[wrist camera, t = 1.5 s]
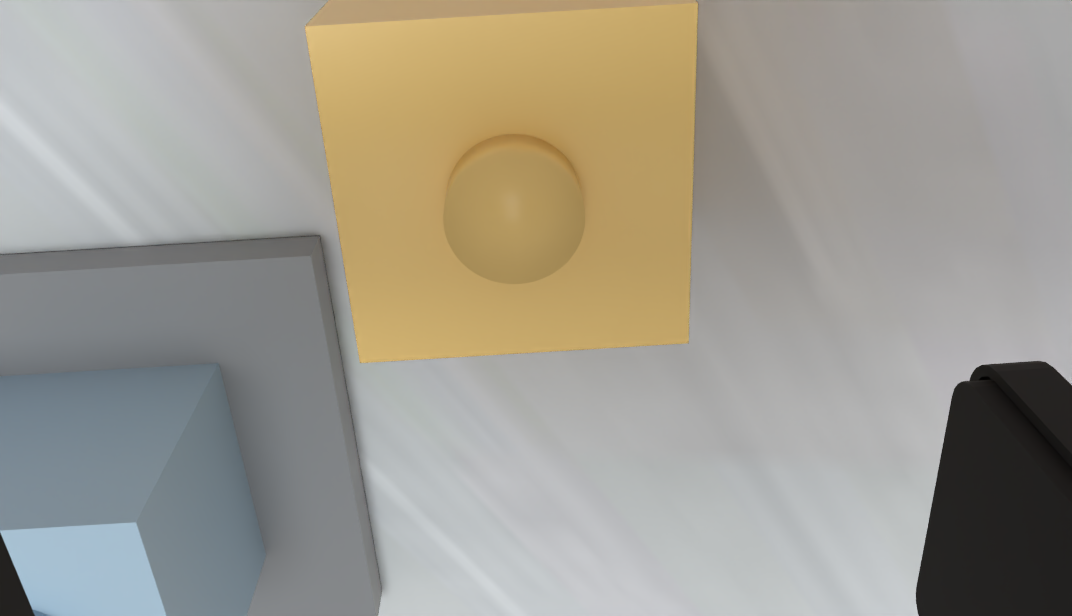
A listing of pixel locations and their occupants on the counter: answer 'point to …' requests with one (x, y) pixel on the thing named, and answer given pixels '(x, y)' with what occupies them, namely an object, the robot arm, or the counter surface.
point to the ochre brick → (510, 171)
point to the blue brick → (127, 493)
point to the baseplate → (225, 384)
